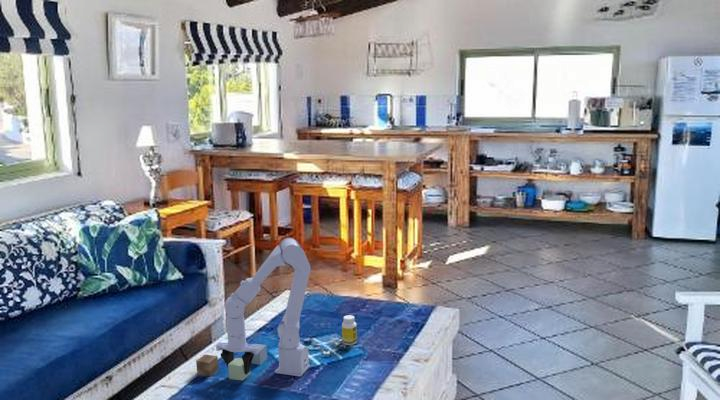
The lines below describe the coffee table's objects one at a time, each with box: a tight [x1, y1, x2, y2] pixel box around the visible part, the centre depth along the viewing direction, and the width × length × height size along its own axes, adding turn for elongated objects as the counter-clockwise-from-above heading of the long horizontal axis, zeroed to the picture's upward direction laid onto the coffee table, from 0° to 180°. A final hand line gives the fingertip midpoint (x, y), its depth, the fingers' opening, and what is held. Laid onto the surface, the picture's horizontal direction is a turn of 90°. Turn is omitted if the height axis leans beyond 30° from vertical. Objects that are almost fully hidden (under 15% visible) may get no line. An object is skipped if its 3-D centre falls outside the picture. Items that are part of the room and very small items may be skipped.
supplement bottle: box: [341, 314, 358, 346], centre depth 224 cm, size 5×5×10 cm
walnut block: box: [195, 353, 219, 378], centre depth 205 cm, size 5×5×5 cm
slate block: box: [251, 343, 268, 366], centre depth 213 cm, size 5×5×5 cm
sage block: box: [227, 357, 251, 381], centre depth 202 cm, size 5×5×5 cm
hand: (239, 372), depth 202 cm, fingers closed on sage block, 5 cm apart
